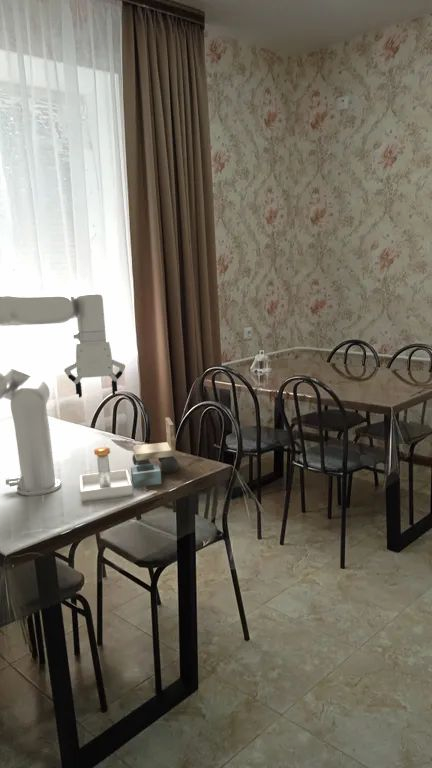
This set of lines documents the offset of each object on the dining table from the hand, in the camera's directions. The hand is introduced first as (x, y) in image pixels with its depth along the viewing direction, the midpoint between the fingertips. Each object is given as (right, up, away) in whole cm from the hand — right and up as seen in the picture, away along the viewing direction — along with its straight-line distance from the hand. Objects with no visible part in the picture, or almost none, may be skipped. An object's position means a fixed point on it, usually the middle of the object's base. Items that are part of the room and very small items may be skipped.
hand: (97, 395), depth 184 cm
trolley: (+16, -24, +9) cm, 30 cm away
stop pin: (+3, -27, -2) cm, 27 cm away
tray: (+3, -27, -2) cm, 27 cm away
